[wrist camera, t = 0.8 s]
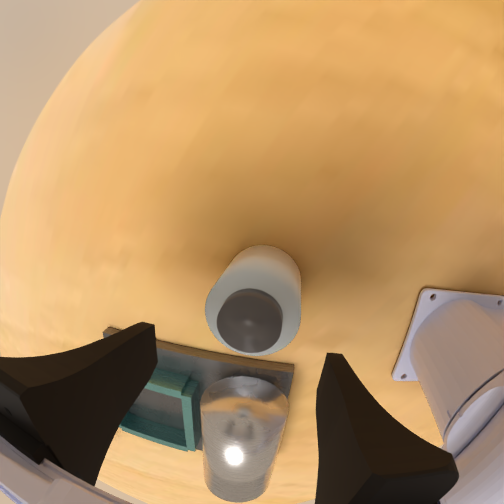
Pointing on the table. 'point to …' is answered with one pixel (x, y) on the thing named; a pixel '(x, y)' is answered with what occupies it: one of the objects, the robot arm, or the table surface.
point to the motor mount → (216, 414)
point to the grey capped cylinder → (256, 302)
